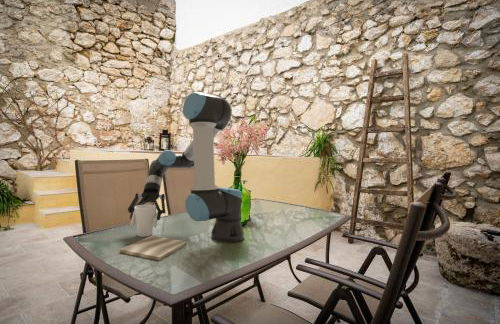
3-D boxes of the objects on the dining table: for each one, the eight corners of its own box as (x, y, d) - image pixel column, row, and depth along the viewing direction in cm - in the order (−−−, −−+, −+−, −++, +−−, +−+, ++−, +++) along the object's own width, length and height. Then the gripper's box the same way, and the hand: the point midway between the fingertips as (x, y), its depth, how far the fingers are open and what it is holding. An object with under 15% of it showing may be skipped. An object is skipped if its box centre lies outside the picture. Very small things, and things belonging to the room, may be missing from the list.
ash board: (186, 244, 113) (186, 241, 113) (159, 260, 96) (159, 257, 96) (151, 238, 119) (151, 235, 119) (119, 252, 102) (119, 249, 102)
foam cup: (148, 238, 118) (148, 209, 118) (129, 236, 120) (130, 207, 120) (159, 232, 128) (160, 205, 127) (142, 230, 129) (142, 203, 129)
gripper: (175, 191, 140) (169, 230, 125) (131, 189, 137) (119, 229, 122) (174, 182, 134) (167, 221, 119) (128, 180, 131) (115, 221, 116)
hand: (143, 225), depth 120 cm, fingers closed on foam cup, 9 cm apart
